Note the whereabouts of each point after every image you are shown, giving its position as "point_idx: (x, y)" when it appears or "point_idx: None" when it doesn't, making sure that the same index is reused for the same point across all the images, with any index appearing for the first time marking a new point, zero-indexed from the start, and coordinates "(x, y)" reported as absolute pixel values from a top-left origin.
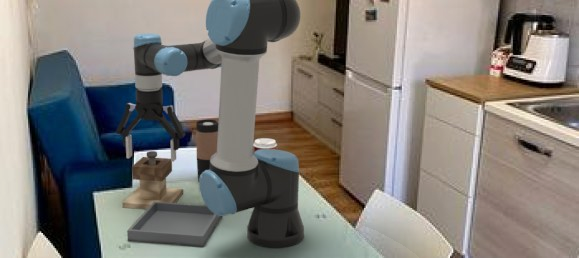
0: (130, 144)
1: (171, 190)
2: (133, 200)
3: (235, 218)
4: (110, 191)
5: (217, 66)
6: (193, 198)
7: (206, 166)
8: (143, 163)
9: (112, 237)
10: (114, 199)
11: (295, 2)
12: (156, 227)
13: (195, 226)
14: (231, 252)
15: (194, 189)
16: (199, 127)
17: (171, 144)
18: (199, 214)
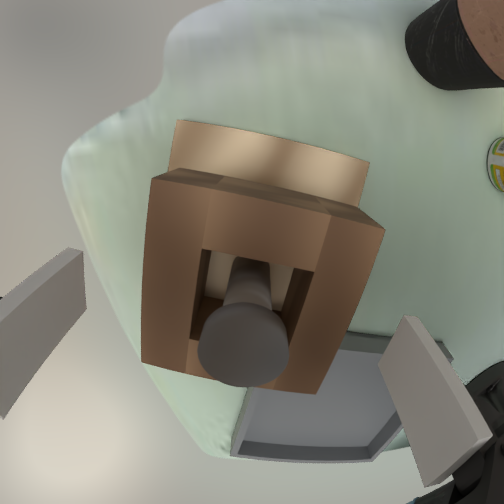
0: (30, 326)
1: (323, 175)
2: None
3: (461, 348)
4: (83, 139)
5: None
6: (397, 214)
7: (483, 81)
8: (191, 323)
9: (196, 425)
10: (113, 214)
11: None
12: (285, 411)
13: (373, 403)
14: (403, 447)
15: (400, 121)
16: None
17: (420, 458)
18: None
